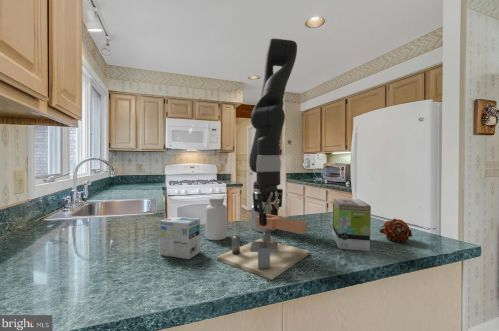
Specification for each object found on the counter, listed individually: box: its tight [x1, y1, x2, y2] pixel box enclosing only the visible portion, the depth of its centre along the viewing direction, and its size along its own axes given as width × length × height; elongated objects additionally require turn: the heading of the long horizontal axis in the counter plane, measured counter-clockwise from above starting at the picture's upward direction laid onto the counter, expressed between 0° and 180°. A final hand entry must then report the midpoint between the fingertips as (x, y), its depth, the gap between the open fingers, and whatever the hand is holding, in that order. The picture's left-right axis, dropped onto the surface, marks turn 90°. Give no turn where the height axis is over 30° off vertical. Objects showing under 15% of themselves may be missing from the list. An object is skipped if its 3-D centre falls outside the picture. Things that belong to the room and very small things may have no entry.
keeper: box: [250, 240, 279, 270], centre depth 65 cm, size 5×7×5 cm
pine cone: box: [379, 218, 413, 244], centre depth 88 cm, size 8×8×12 cm
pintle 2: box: [262, 232, 272, 242], centre depth 77 cm, size 2×2×5 cm
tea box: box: [332, 198, 372, 252], centre depth 85 cm, size 15×10×15 cm, turn 168°
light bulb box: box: [159, 216, 202, 260], centre depth 76 cm, size 11×7×11 cm, turn 71°
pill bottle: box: [205, 196, 228, 241], centre depth 91 cm, size 8×8×15 cm
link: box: [256, 214, 307, 235], centre depth 74 cm, size 15×6×3 cm, turn 52°
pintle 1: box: [231, 234, 241, 255], centre depth 73 cm, size 2×2×5 cm
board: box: [216, 238, 311, 281], centre depth 73 cm, size 19×21×1 cm
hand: (268, 223), depth 77 cm, fingers closed on link, 6 cm apart
